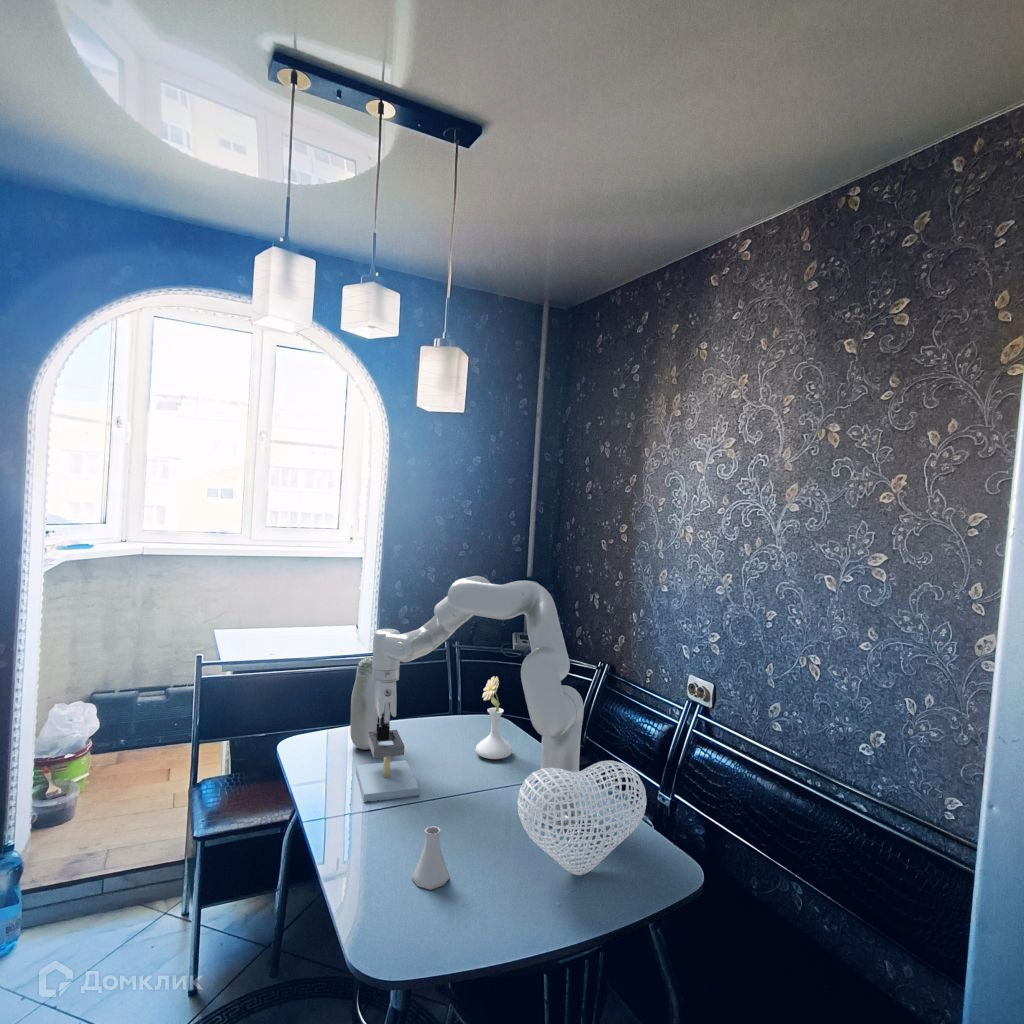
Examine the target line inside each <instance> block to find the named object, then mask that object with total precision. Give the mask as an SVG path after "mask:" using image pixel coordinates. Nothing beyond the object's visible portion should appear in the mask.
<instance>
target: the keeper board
mask: <svg viewBox="0 0 1024 1024" xmlns="http://www.w3.org/2000/svg"><path fill="white" fill-rule="evenodd" d="M391 757H392V756H390V757H383V762H377V763H366V764H359V765H358V764H357V765H355V774H356V775H355V776H356V779H357V778H358V779H357V783H358V782H359V783H358V786H360V787H359V790H360V794H361V797H363V798H362V801H364V802H363V803H368V802H367V801H371V802H377V800H379V801H385V800H387V801H388V800H395V799H402V798H410V797H418V796H419V791H420V787H419V784H418V783H417V781H416V779H415V776H414V775H413V774H414V773H413V771H411V770H412V769H411V768H410V766H409V763H408V761H407V760H405V759H403V760H396V761H391Z"/></svg>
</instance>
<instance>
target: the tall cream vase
mask: <svg viewBox="0 0 1024 1024" xmlns="http://www.w3.org/2000/svg"><path fill="white" fill-rule="evenodd" d="M372 663H373V656H365V657H363V658H362V659H360V661H359V662H358V663H357V668H356V674H355V681H354V684H353V688H352V691H351V692H352V693H351V696H350V697H351V699H350V725H349V726H350V729H349V731H350V739H351V741H352V743H353V745H354V746H355V747H356V748H357V749H359V750H363V751H366V750H371V749H370V746H369V743H368V732H374V731H377V724H378V723H377V716H378V715H377V713H376V710H375V681H373V680H372ZM377 743H378V745H379V744H380V742H377Z"/></svg>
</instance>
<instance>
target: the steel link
mask: <svg viewBox="0 0 1024 1024" xmlns="http://www.w3.org/2000/svg"><path fill="white" fill-rule="evenodd" d="M377 734H378V731H374V732H368V743H369V746H370V749H369V750H370V751H371V752H370V753H371V754H372V759H378V758H384V757H390V756H391V757H399V756H405V744H404V742H403V740H402V738H401V736H400V734H399V732H398V730H397V729H390V730H389V740H385V741H378V740H377ZM377 742H383V743H384V742H392V744H385V745H379V744H378V743H377Z"/></svg>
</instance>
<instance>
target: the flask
mask: <svg viewBox="0 0 1024 1024" xmlns="http://www.w3.org/2000/svg"><path fill="white" fill-rule="evenodd" d="M441 833H442V829H440V827H439V826H435V825H431V826H427V827H426V828H425V829H424V834H425V839H424V840H425V841H424V846H423V849H422V852H421V855H420V857H419V860H418V863H417V864H416V867H415V869H414V871H413V873H412V876H411V880H412V881H413V882H414V883H415V885H416V887H419V888H424V889H426V890H430V891H431V890H434V889H437V888H439V887H442V886H443V887H444V885H446V883H447V882H448V880H449V879H451V876H450V874H449V871H448V867H447V865H446V863H445V858H444V855H443V852H442V848H441V843H440V834H441Z"/></svg>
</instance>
